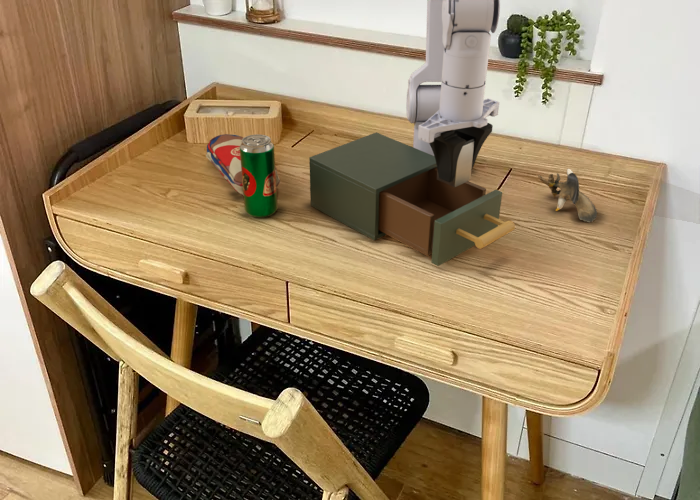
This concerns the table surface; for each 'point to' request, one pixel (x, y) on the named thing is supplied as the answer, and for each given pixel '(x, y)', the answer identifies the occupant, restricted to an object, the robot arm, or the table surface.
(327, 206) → the cabinet
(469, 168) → the metal-capped square post
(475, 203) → the drawer
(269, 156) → the soda can
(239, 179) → the pencil case
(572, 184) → the eagle figurine
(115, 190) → the table surface
